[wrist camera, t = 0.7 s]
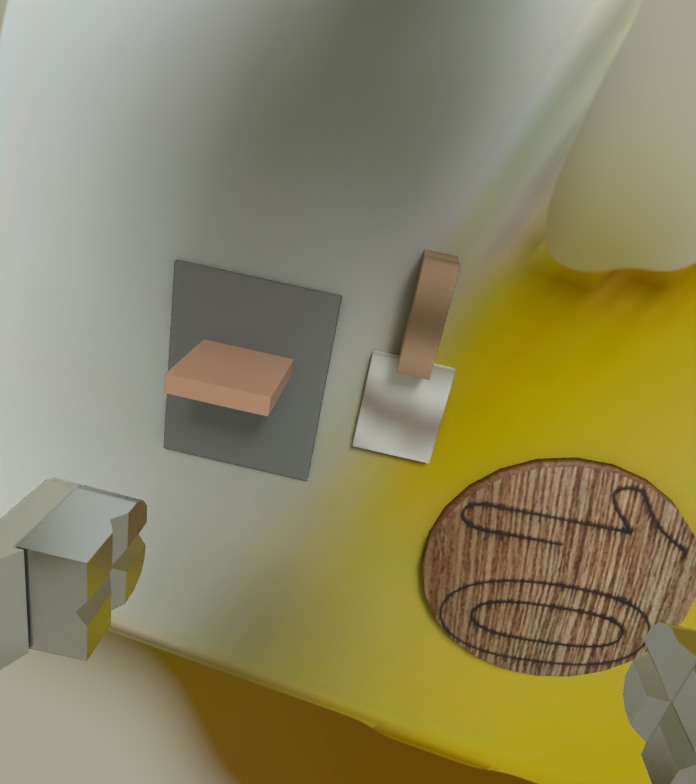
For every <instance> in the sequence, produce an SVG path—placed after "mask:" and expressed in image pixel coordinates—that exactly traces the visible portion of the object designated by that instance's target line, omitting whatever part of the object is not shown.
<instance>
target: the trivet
mask: <svg viewBox="0 0 696 784" xmlns="http://www.w3.org/2000/svg"><path fill="white" fill-rule="evenodd" d="M423 577H424V589H425V596H426V598H427V601H428V603H429V605H430V608H431V610H432V612H433V615H434V617H435V619H436V620H437V622H438V623H439V624H440V625H441V626H442V627H443V629H444V630H445V631H446V632H447V633H448V635H449V636H450V637H451V638H452V639H453V640H454V641H455V642H456V643H458V644H459V645H461V646H462V647H463V648H465V649H466V650H468V651H469V652H470V653H472V654H473V655H475V656H476V657H478V658H480V659H482V660H485V661H487V662H490V663H492V664H494V665H497V666H499V667H501V668H504V669H507V670H512V671H516V672H521V673H526V674H531V675H536V676H576V675H582V674H588V673H594V672H601V671H605V670H607V669H610V668H613V667H616V666H618V665H621V664H624V663H627V662H629V661H632V660H634V659H636V658H638V657H639V656H641V655H643V654H644V653H646V652H647V651H648V650H647V647H646V644H645V641H644V639H645V637H646V635H647V634H648V632H649V630H650V628H651V627H652V626H654V625H655V624H657V623H658V622H663V623H667V624H672V625H676V626H678V625H679V624H680V623H681V622H682V621H683V620H684V618H685V616H686V614H687V612H688V611H689V609H690V607H691V605H692V603H693V601H694V599H695V597H696V537H695V536H694V534H693V533H692V531H691V529H690V528H689V526H688V525H687V523H686V521H685V520H684V518H683V517H682V515H681V514H680V512H679V510H678V509H677V507H676V506H675V505H674V503H673V502H672V500H670V499H669V498H668V497H667V496H666V495H664V494H663V493H662V492H661V491H660V490H658V489H657V488H656V487H655V486H654V485H652V484H651V483H650V482H649V481H648V480H646V479H644V478H642V477H640V476H638V475H636V474H633V473H631V472H629V471H627V470H624V469H622V468H620V467H618V466H616V465H613V464H608V463H603V462H597V461H592V460H587V459H581V458H550V459H535V460H531V461H528V462H524V463H520V464H516V465H512V466H508V467H505V468H501V469H499V470H497V471H495V472H493V473H491V474H489V475H487V476H485V477H484V478H482V479H480V480H478V481H476V482H474V483H472V484H470V485H469V486H468V487H466V488H465V489H464V490H463V491H462V492H461V493H460V494H459V495H458V496H456V497H455V498H454V499H453V500H452V501H451V502H450V503H449V504H448V505H446V506H445V508H444V509H443V511H442V512H441V514H440V516H439V517H438V519H437V520H436V522H435V524H434V525H433V527H432V528H431V530H430V532H429V536H428V539H427V543H426V547H425V551H424V555H423Z"/></svg>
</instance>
